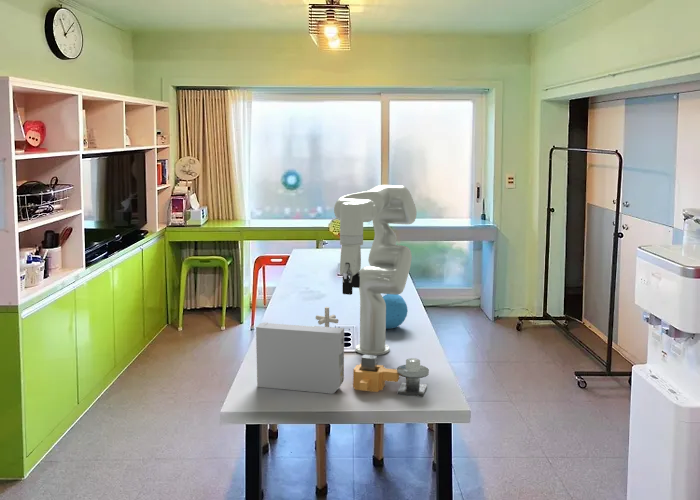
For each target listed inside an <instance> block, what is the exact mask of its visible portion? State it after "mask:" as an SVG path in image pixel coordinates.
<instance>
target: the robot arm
mask: <svg viewBox="0 0 700 500" xmlns="http://www.w3.org/2000/svg"><path fill="white" fill-rule="evenodd" d="M409 190H410V189H408V188H407V187H406V186H404V185H395V184H393V185H392V184H379V185H376V186H374V187H372V188H370V189H369V190H367V191H366V190H364V191H360V192H355V193H349V194H346V195H343V196H340V197H339V198H338V199H337V200H336V202H335V204H334V207H333V208H334V209H333V213H334V216H335V218H336V219H337V220H338V221H339V245H341V247H340V248H341V249H340V257H339V258H340V261H339V262H340V263H339V274H340V275H341V276H342V294H343V295H349V296H351V295H353V289H355V288H356V289H358V290H359V292H358V293H359V344H357V345H355V351H356V353H359V354H360V355H373V356H381V355H385V354H388V353H389V352H390V349H391V348H390V346H389V345H388V344H386V336H387V335H386V332H387V330H386V303H385V301H384V299H383V296H382V294H383V295H387V294H393V295H401V294H402V293H403V292H404V290H405V288H406V285H407V280H408V278H409V277H408V276H409V273H410V270H411V266H412V265H411V264H412V258H413V257H412V251H411V249H410V248H409V247H408V246H405V245H401V244H397V242H398V238H397V235H396V232H395V231H394V230H393V228H392V227H390V225H391V224H393V225H412V224H413V223H414V222H415V221H416V218H417V207H416V204H415V201H414V199H413V197H412V194H411V192H410V191H409ZM369 222H372V226H373V231H374V237H373V242H372V243H371V244H372V245H371V247H370V250H369V254H368V264H369V266H368V265H367V266H365V267H362V257H361V256H362V255H361V254H362V252H361V251H362V250H361V249H362V248H361V246H363V245H364V223H369ZM389 224H390V225H389ZM361 267H362V268H361Z"/></svg>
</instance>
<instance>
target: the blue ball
mask: <svg viewBox="0 0 700 500" xmlns="http://www.w3.org/2000/svg"><path fill="white" fill-rule="evenodd" d="M382 297H383V299H384V301H385V303H386V329H387V330H388V329H394V328H398V327H400V325H402V324H403V323H404V321H406V318H407V316H408V313H409V312H408V306H407V305H408V304H407V302H406V301H405V300H404V298H403V296H402V295H401V294H398V295H393V294H384V295H383V296H382Z"/></svg>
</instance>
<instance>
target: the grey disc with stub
mask: <svg viewBox="0 0 700 500" xmlns="http://www.w3.org/2000/svg"><path fill="white" fill-rule="evenodd" d="M396 369H397V374H398V375H399V377H401V378H404V379H405V382H404V381H403V382H401V384H400V386H399V388H398V390H397V395H401V396H411V397H420V398H423V397H424V396H425V393H426V391H427V388H428V384H425V383H420V382H421V379H423V378H426V377H427V376H428V375H429V374H430V369H429V368H428V367H427V366H425V365H421V360H420V359H418V358H416V357H415V358H414V357H411V358H407V359H406V360H405V364H402V365H399V366H398V367H397V368H396ZM428 377H429V376H428Z"/></svg>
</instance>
